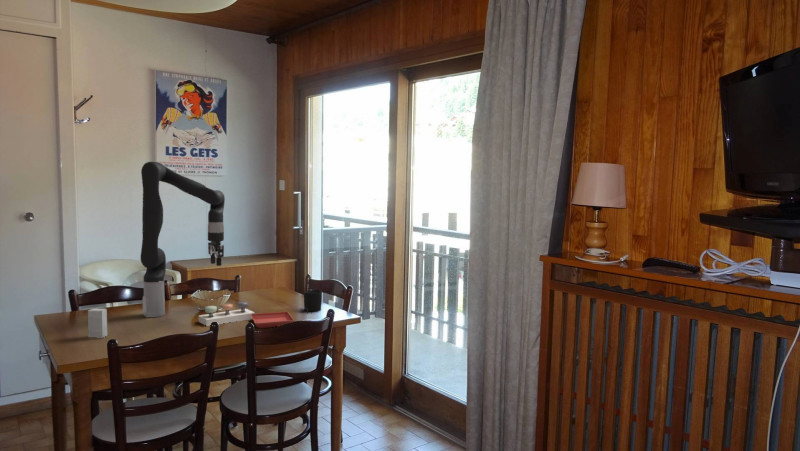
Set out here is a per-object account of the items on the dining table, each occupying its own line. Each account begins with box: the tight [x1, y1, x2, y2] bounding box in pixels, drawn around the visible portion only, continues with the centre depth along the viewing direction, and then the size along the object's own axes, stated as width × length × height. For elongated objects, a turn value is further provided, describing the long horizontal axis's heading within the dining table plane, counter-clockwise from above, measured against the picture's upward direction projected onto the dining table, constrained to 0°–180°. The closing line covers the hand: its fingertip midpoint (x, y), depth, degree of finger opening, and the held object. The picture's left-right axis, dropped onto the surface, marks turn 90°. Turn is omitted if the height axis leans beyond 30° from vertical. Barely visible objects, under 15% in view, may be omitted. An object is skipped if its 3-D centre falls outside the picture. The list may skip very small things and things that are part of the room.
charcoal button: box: [237, 301, 249, 313], centre depth 274 cm, size 5×5×5 cm
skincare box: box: [87, 308, 108, 339], centre depth 237 cm, size 6×4×12 cm
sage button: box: [204, 305, 218, 317], centre depth 263 cm, size 5×5×5 cm
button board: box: [198, 308, 256, 327], centre depth 269 cm, size 24×10×3 cm, turn 130°
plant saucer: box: [251, 311, 295, 329], centre depth 266 cm, size 18×18×3 cm
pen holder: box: [303, 289, 323, 313], centre depth 292 cm, size 9×9×10 cm
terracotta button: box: [221, 303, 234, 315], centre depth 268 cm, size 5×5×5 cm
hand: (215, 264), depth 274 cm, fingers open, 7 cm apart
